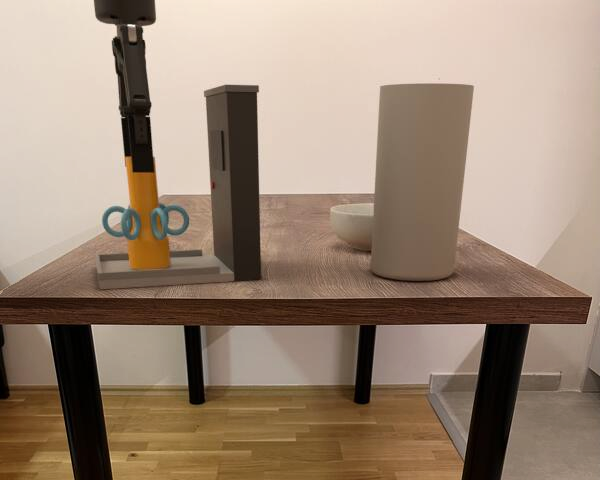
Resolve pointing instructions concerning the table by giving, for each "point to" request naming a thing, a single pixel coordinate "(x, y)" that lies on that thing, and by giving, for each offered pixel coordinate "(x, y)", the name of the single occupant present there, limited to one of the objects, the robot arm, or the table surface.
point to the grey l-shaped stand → (214, 204)
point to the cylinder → (145, 222)
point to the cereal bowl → (354, 224)
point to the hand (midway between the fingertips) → (138, 169)
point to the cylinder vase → (419, 179)
